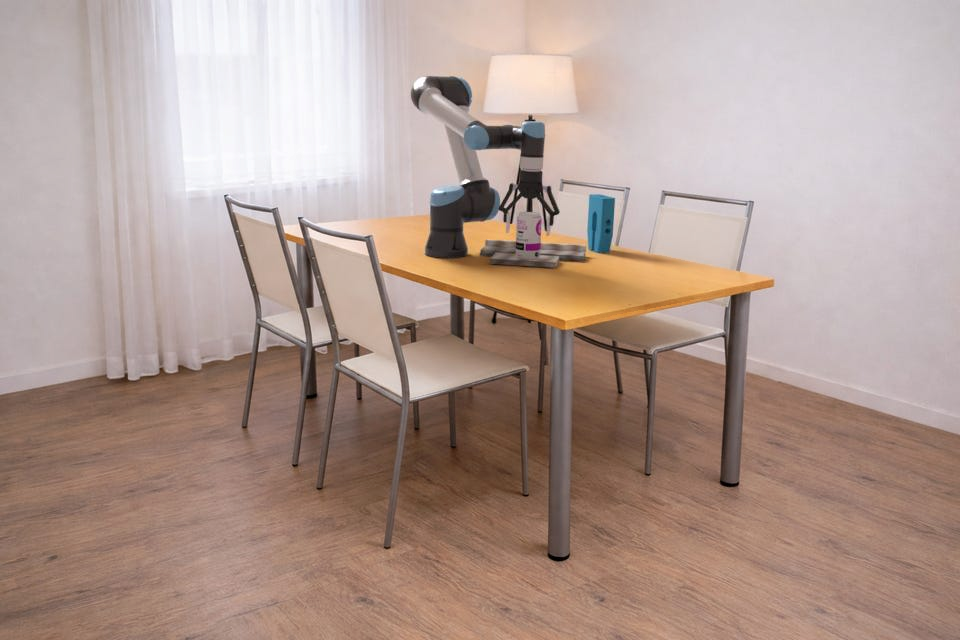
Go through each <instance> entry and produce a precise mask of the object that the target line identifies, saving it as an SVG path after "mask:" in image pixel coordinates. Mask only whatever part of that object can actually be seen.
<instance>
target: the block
mask: <svg viewBox="0 0 960 640" xmlns="http://www.w3.org/2000/svg"><path fill="white" fill-rule="evenodd" d="M588 195H589V196H588V209H587V211H588V213H587V227H586V228H587V230H586V232H587V247H588V250H589V251H593V252H594V253H597V254H608V253H610V250H611V248H612V247H611V246H612V241H613V236H614V224H615V223H614V222H615V221H614V220H615V207H616V206H615V205H616V198H615V197H612V196H609V195H605V194H602V193H601V194H600V193H597V194H593V193H592V194H590V193H589V194H588Z"/></svg>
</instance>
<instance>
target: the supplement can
mask: <svg viewBox="0 0 960 640" xmlns="http://www.w3.org/2000/svg"><path fill="white" fill-rule="evenodd" d="M515 229H516V232H515V233H516V234H515V236H516V237H515V241H516V256H517V258H519V259H524V260H534V259H538V257H540V245H541V243H542V242H541V241H542V240H541V239H542V238H541V237H542V216H541V213H540V212H535V211H519V213H518V214H517V216H516V228H515Z"/></svg>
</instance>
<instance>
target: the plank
mask: <svg viewBox="0 0 960 640" xmlns="http://www.w3.org/2000/svg"><path fill="white" fill-rule="evenodd" d="M559 262H560V261H559V256H546V255H540V257H538V259H534V260H524V259H519V258H517V256H516V254H513V253H495V254H494V255H493V256H492V257H489V264H490V265H506V266H521V267H522V266H523V267H537V268H539V267H541V268H555V269H556V267H557V265H558V263H559Z"/></svg>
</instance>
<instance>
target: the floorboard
mask: <svg viewBox="0 0 960 640" xmlns="http://www.w3.org/2000/svg"><path fill="white" fill-rule="evenodd" d="M484 241H485V242H484V243H485V244H484V246H483V247H482V248H481V249H480V253H479V256H480V257H489V258H491V257H492V256H493V255H494V254H495V253H513V254H516V240H501V239H485V240H484ZM586 251H587V245H585V244H572V243H571V244H570V243H553V242H541V245H540V255H546V256H559V262H572V263H573V262H576V263H584V262H585V258H586V256H587V253H586Z"/></svg>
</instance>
